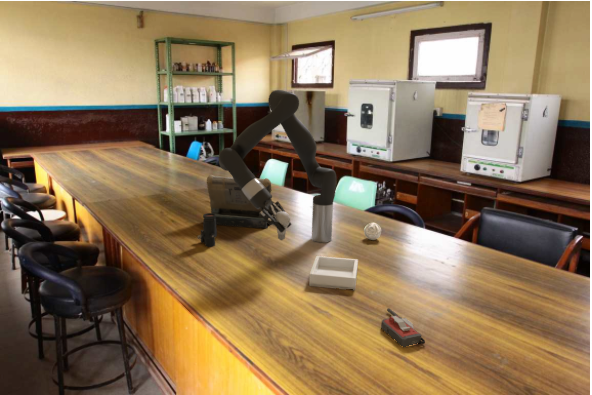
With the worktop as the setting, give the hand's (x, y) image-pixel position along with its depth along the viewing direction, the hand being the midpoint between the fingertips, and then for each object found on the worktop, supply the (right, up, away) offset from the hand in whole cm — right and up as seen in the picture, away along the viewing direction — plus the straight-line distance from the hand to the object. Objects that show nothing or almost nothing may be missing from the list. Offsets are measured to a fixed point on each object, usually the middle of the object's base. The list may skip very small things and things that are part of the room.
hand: (286, 228), depth 166 cm
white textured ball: (+39, -8, +45) cm, 60 cm away
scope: (-34, -9, +33) cm, 49 cm away
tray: (+18, -18, +1) cm, 25 cm away
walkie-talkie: (+33, -28, -33) cm, 54 cm away
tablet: (-25, -2, +64) cm, 69 cm away
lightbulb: (-2, -5, +2) cm, 5 cm away
